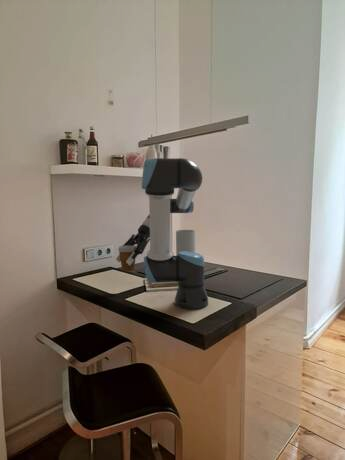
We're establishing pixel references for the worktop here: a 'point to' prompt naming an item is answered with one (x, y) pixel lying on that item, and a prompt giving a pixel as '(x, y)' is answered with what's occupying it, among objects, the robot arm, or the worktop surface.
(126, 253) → the disposable coffee cup
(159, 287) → the docking board
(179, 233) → the cylinder vase
